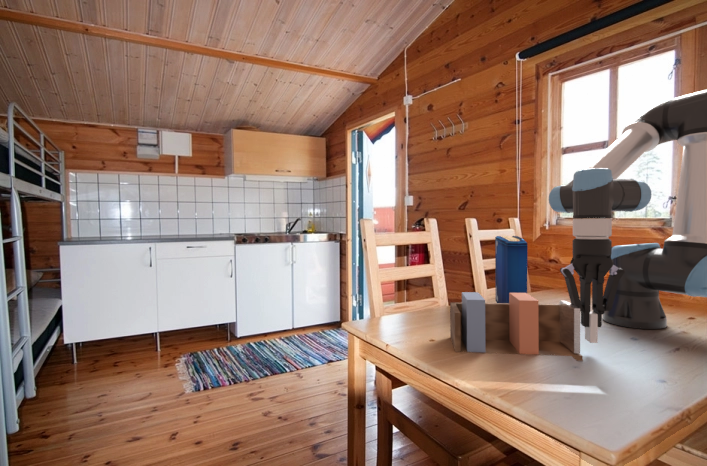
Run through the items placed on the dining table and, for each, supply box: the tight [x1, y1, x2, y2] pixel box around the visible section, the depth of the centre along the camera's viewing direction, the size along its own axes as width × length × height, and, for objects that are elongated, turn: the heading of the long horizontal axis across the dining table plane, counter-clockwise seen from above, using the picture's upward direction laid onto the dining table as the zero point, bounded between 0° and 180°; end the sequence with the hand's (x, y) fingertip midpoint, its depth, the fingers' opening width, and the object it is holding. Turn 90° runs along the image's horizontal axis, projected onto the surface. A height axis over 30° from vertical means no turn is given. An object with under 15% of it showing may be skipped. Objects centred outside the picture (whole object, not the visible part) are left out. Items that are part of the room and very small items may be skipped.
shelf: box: [449, 301, 584, 362], centre depth 91 cm, size 27×11×10 cm, turn 81°
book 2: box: [494, 235, 528, 303], centre depth 129 cm, size 22×7×25 cm, turn 168°
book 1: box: [461, 291, 486, 352], centre depth 91 cm, size 4×9×12 cm, turn 171°
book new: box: [509, 292, 539, 355], centre depth 89 cm, size 4×9×12 cm, turn 171°
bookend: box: [559, 299, 581, 354], centre depth 88 cm, size 1×8×10 cm, turn 171°
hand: (591, 340), depth 87 cm, fingers closed
